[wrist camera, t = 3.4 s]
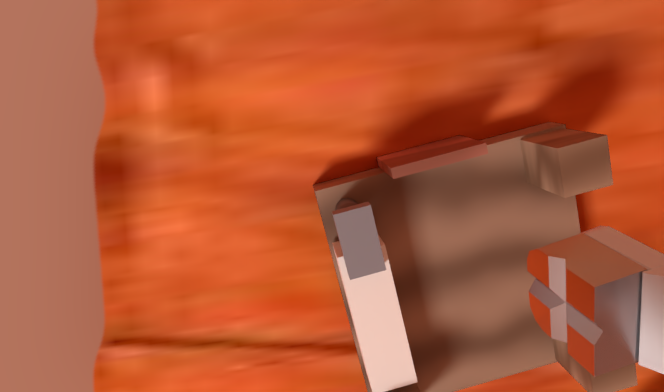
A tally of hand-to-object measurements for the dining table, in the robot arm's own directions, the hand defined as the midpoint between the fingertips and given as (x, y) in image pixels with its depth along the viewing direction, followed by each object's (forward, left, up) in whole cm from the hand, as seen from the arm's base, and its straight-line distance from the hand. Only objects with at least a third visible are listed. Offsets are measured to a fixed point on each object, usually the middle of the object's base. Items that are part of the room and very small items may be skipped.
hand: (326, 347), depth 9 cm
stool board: (-14, -11, -32) cm, 37 cm away
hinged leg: (-12, -3, -29) cm, 32 cm away
